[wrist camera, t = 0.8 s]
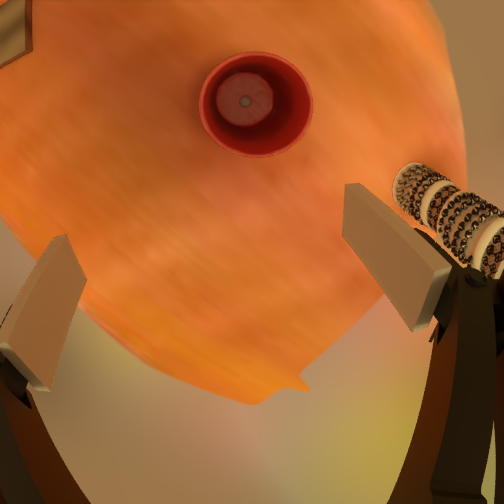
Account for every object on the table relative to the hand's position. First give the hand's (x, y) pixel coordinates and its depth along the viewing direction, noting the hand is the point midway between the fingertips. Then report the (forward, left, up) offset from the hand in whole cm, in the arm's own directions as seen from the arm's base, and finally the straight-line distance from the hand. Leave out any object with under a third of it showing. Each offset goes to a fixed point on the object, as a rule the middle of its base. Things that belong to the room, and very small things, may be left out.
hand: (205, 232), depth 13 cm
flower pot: (-4, +6, -26) cm, 27 cm away
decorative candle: (+10, +33, -26) cm, 43 cm away
